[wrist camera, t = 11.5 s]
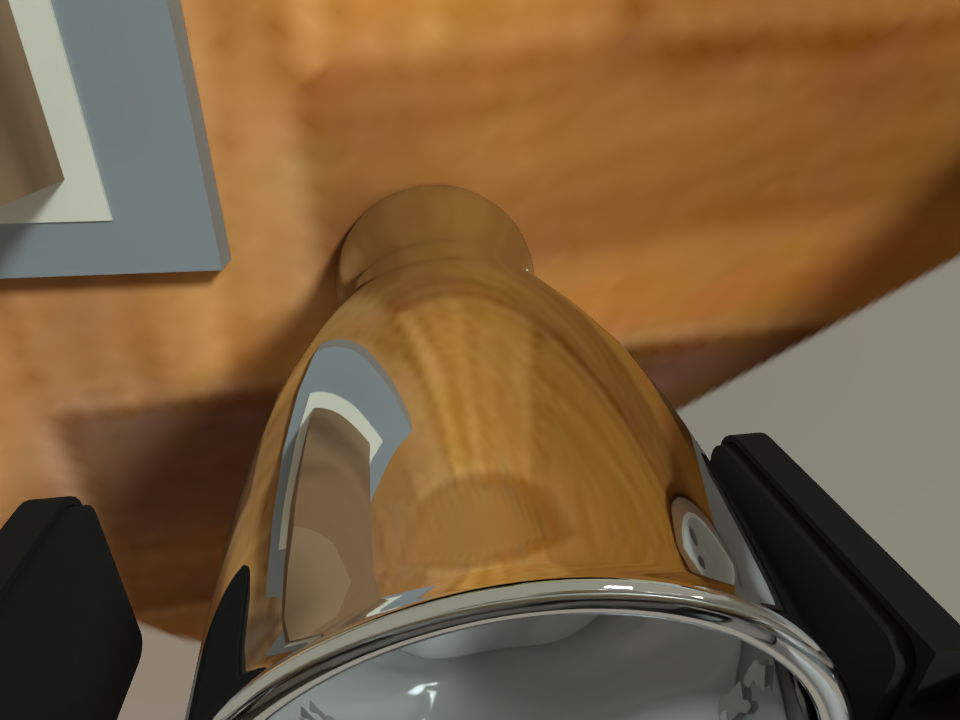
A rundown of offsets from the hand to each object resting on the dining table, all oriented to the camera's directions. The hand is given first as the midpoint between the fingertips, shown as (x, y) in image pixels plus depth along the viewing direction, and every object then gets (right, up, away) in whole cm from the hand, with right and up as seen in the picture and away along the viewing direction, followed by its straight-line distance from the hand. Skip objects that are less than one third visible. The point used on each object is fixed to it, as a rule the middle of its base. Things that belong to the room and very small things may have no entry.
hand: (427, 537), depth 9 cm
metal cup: (-1, +5, +10) cm, 11 cm away
